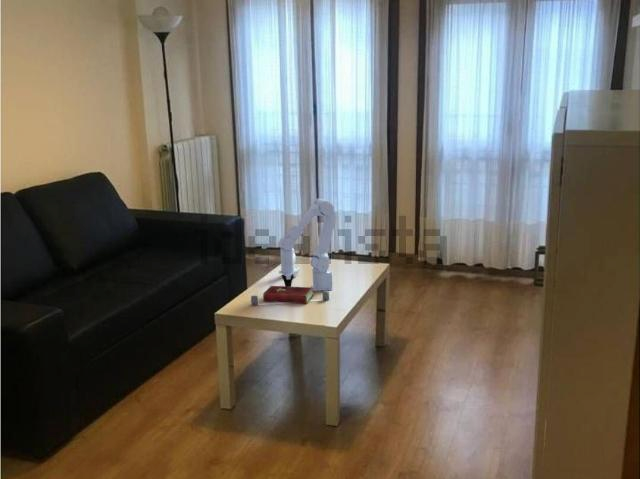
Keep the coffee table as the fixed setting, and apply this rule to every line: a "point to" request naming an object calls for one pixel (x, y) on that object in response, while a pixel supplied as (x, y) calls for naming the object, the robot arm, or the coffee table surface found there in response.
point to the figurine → (293, 265)
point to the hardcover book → (288, 294)
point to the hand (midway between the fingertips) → (288, 289)
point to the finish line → (255, 302)
